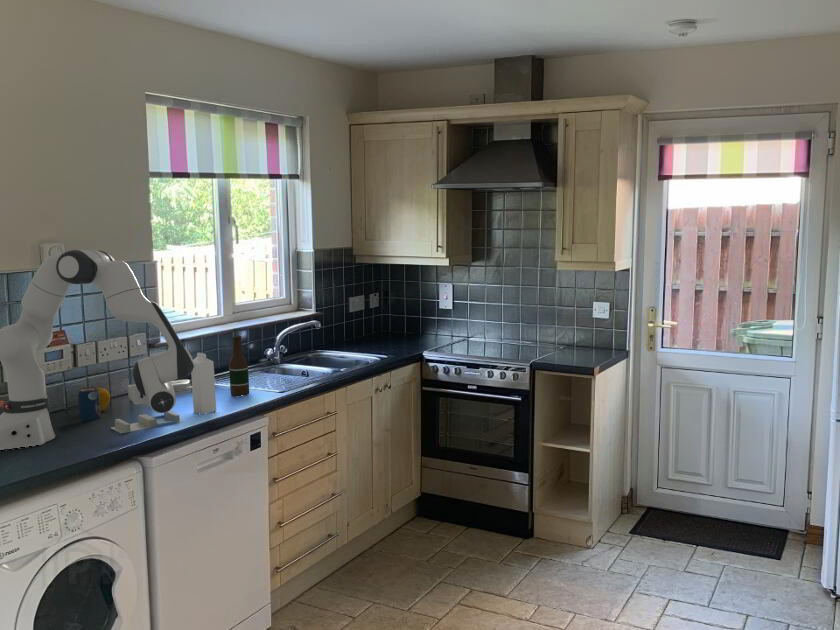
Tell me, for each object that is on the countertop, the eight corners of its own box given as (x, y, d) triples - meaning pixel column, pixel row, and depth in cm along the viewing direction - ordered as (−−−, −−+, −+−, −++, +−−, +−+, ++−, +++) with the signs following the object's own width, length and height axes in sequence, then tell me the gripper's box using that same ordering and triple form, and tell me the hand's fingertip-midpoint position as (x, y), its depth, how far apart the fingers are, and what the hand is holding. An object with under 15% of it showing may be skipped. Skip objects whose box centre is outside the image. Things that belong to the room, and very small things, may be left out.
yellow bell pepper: (116, 409, 302) (114, 386, 301) (98, 414, 294) (96, 391, 293) (100, 407, 306) (99, 384, 305) (82, 412, 298) (80, 389, 297)
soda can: (102, 422, 282) (100, 389, 281) (81, 425, 279) (79, 392, 277) (99, 418, 288) (96, 386, 287) (78, 421, 285) (75, 388, 283)
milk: (207, 409, 298) (204, 351, 296) (216, 411, 294) (213, 352, 292) (193, 412, 294) (189, 353, 291) (202, 414, 290) (198, 355, 287)
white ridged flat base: (122, 438, 261) (121, 426, 261) (109, 431, 270) (108, 420, 269) (185, 425, 275) (185, 414, 275) (172, 419, 284) (171, 408, 283)
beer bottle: (236, 397, 316) (232, 338, 313) (226, 394, 322) (223, 336, 319) (253, 394, 321) (250, 335, 318) (243, 391, 327) (240, 333, 324)
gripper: (192, 379, 264) (189, 372, 277) (127, 386, 257) (127, 378, 270) (193, 398, 265) (190, 390, 278) (128, 405, 258) (128, 396, 271)
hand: (158, 384), depth 274 cm, fingers closed on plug, 4 cm apart
